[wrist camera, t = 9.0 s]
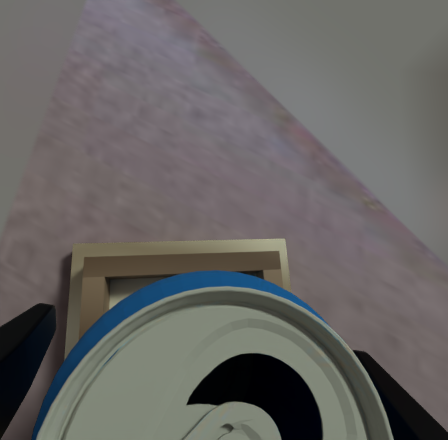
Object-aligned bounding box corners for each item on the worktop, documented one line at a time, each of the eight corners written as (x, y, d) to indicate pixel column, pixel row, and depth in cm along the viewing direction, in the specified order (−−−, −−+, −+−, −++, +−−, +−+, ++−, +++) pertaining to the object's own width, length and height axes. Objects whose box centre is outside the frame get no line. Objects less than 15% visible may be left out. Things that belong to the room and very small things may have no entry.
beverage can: (273, 357, 17) (494, 461, 5) (184, 463, 15) (224, 1005, 3) (191, 269, 17) (228, 189, 6) (95, 359, 15) (-136, 507, 4)
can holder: (320, 612, 15) (349, 671, 12) (47, 680, 13) (19, 766, 10) (279, 242, 20) (294, 232, 17) (78, 247, 18) (63, 237, 15)
